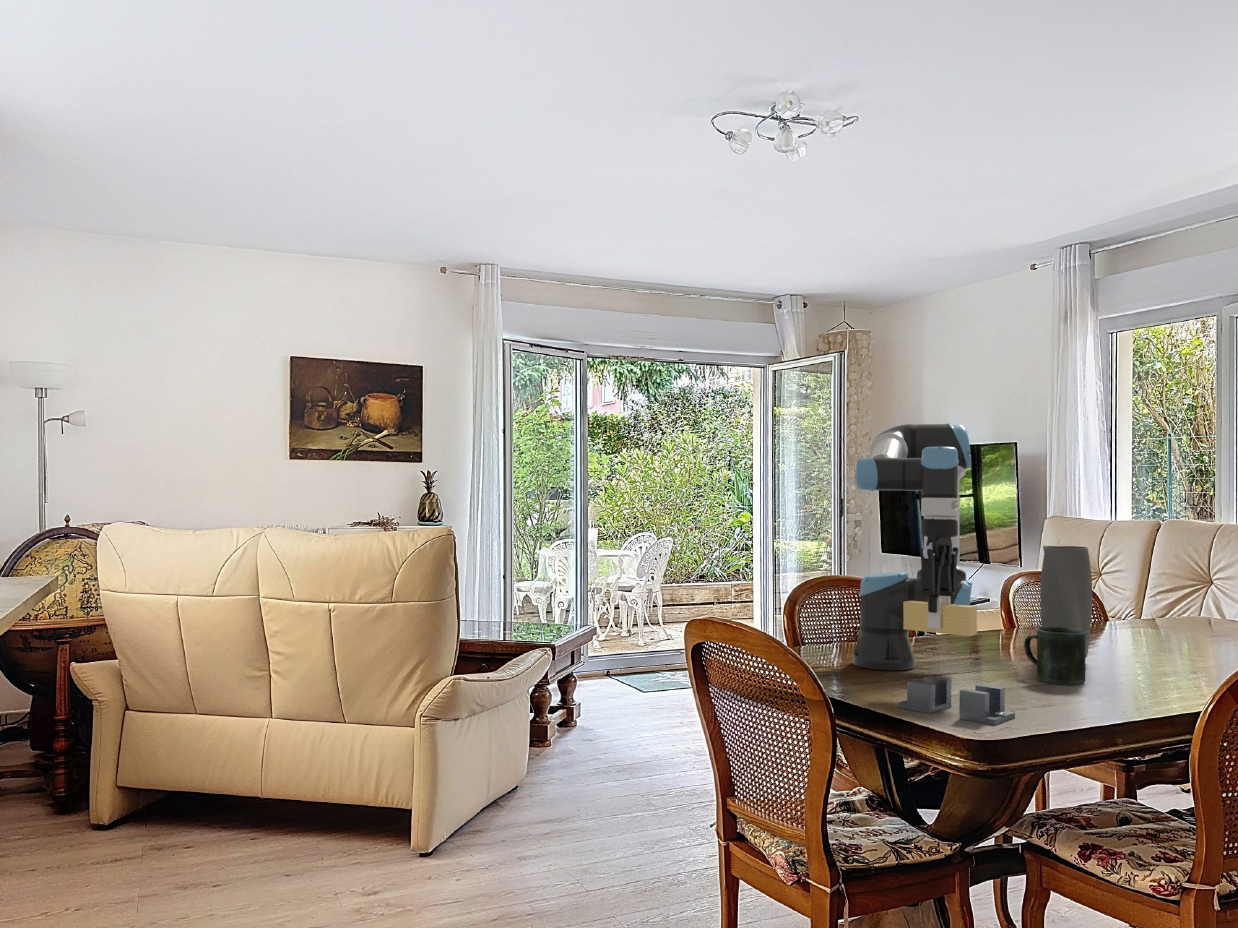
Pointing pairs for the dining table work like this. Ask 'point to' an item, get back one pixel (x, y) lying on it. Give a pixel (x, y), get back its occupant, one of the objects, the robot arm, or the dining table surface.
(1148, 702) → the dining table surface
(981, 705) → the grey beam support bracket
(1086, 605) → the vase
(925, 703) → the grey slotted bracket
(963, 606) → the wooden beam block
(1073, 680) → the mug
